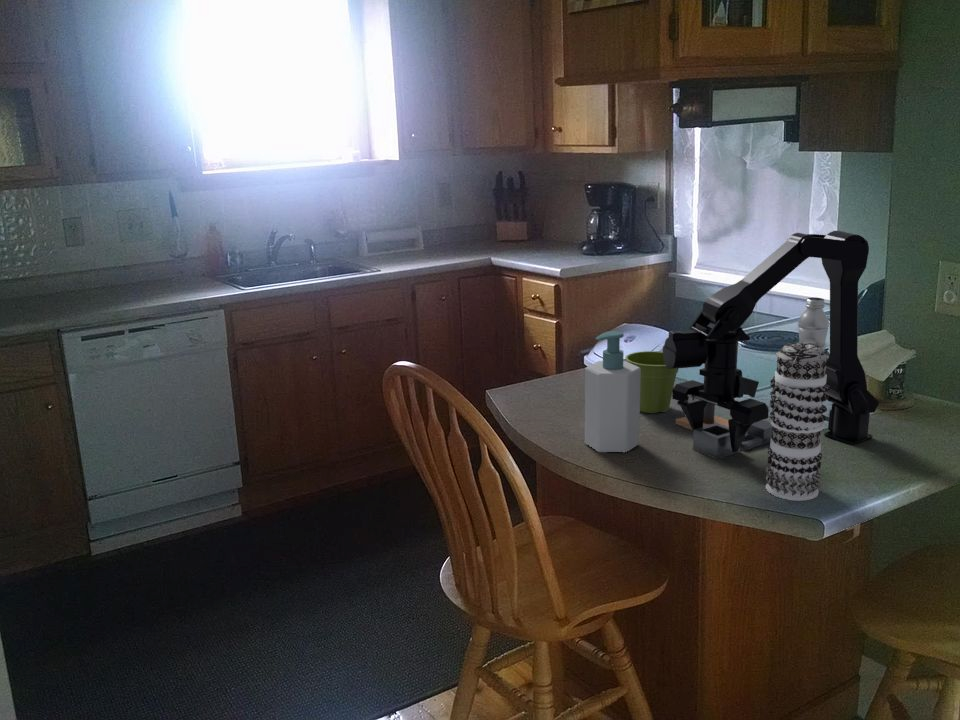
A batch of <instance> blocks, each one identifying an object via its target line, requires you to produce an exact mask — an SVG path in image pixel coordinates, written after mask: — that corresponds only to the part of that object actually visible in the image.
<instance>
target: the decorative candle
mask: <svg viewBox="0 0 960 720" xmlns="http://www.w3.org/2000/svg"><path fill="white" fill-rule="evenodd" d="M775 355H776V358H777V361H776V370H775V371H774V376H773V378H772V379H770V381H769V382H770V384H769V385H770V387H771V388H772V390H771V392H770V393H769V394H770V395H769V396H770V399H771V400H770V401H769V406H770V407H769V408H771V409H772V411H769V416H770V417H769V418H770V421H769V422H770V423H771V425H772V426H773V429H772V438H771V440H770V442H769V443H770V444H769V447H768V449H767V454H768V455H769V456H768V457H767V461H766V462H767V463H768V465H767V467H766V470H765V471H766V477H765V482H766V485H765V490H766V489H767V490H766V492H767V491H768V492H769V493H768V492H767V493H768V494H770V493H771V494H772V496H773V495H774V497H776V498H778V497H779V499H781V498H782V499H781V500H786V499H787V501H793V502H794V501H795V502H796V501H799V502H803V501H810V500H813V499H815V498H817V497H818V496H819V493H820V491H819V489H818V488H819V487H820V478H821V472H820V471H819V469H821V467H822V462H821V460H822V459H823V458H822V457H823V456H822V455H823V454H822V452H821V448H822V442H821V432H822V430H823V429H824V428H825V423H824V422H825V421H826V419H827V417H826V415H825V414H824V413H826V412H827V411H828V408H827V407H826V405H824V404H823V402H826V401H828V399H829V397H828V395H827V394H826V393H825V392H827V391H829V390H830V387H829V386H828V385H827V384H826V379H827V375H826V361H827V359H828V358H829V355H828V354H826V353H825V351H824V352H823V350H822V349H821V348H820V347H819V346H817V345H815V344H811V343H803V342H799V341H798V342H788V343H786V344H785V345H783V347H782V348H781V350H778V351H776V353H775ZM771 494H770V495H771Z"/></svg>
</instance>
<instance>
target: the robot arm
mask: <svg viewBox="0 0 960 720" xmlns="http://www.w3.org/2000/svg"><path fill="white" fill-rule="evenodd" d="M869 252H870V245H869V241H868V240H867V239H865V237H864V236H861V235H860V234H856V233H852V232H846V231H841V230H832V231H830V232H829V233H827V234H819V233H817V234H816V233H811V234H810V233H808V234H807V233H802V232H795V233H793V234H791V235H789V237H788V238H787V239H786V241H785V242H784V243H783V244H781V245H780V246H779V247H777V249H776V250H775V251H773V252H772V253H771V254H770V255H768V257H766V258H765V259H764V260H763V261H762V262H761V263H759V264H758V265H757V266H756V267H754V268H753V269H752V270H751V271H749V273H748V274H747V275H745V276H744V277H742V279H741V280H739V281H737V282H736V283H734V284H730V285H728V286H725V287H723V288H721V289H720V290H718V291H716V292H714V293H713V294H711V295H710V296H708V297H707V298H706V299H705V300H704V302H703V304H702V310H701V311H700V312H699V314H698V315H697V316H696V317H695V319H694V321H693V322H692V324H691V325H690V326H689V330H669V331H668V337H667V338H666V339H665V340H664V344H663V346H662V352H663V358H664V362H665V364H666V366H667V368H669V369H677V368H679V369H688V368H698V367H702V365H704V368H701V369H699V372H698V373H699V375H700V376H702V377H703V382H700V381H696V380H694V379H691V380H688V381H684V382H680V383H676V384H674V387H673V392H672V397H671V400H675V401H676V404H677V405H678V406H679V407H680V408H681V410H682V412H683V413H684V415H685V417H687V419H688V421H689V423H690V426H691V428H692V430H691V431H692V432H693V433H694V429H697V428H700V427H703V419H704V409H705V407H706V405H707V403H711V404H714V405H715V406H718V407H720V408H723V409H727V410H729V416H730V417H731V418H730V419H727V420H728V424H729V433H730V442H731V448H732V452H737V451H738V450H739V448H740V445H741V443H742V441H743V439H744V437H745V435H746V433H747V431H748V429H749V428H750V426H751V425H752V424H753V423H755V422H759V421H761V420H764V421H765V420H766V419H769V415H770V411H769V409H770V407H769V406H768V404H767V403H766V402H763V401H760V400H757V399H754V398H755V397H756V394H757V390H758V387H759V384H760V381H758V380H754V379H752V378H748V377H744V376H743V371H742V369H739V368H737V367H738V351H739V342H747V341H750V339H751V336H749V335H748V334H747V333H746V332H745V331H744V330H743V327H742V326H743V325H744V324H745V322H746V321H747V320H748V319H749V317H750V316H751V315H752V314H753V312H754V310H755V307H756V304H757V303H758V302H759V301H760V300H761V298H763V297H764V296H765V295H766V294H768V292H770V291H771V290H772V289H773V288H774V287H776V286H777V285H778V284H779V283H780V282H781V281H783V280H784V279H785V278H786V277H787V276H788V275H790V274H791V273H792V272H793V271H795V269H796V268H797V267H799V266H800V265H801V264H802V263H804V262H805V261H806V260H807V259H808V258H817V259H820V260H821V264H822V266H823V269H824V272H825V274H826V276H827V278H828V280H829V355H828V356H829V358H828V359H827V361H826V375H827V379H826V384H827V385H828V386H829V387H830V390H829V391H827V392H825V393H826V394H827V395H828V397H829V399H828V400H827V401H828V402H831V408H830V410H829V413H828V414H829V415H828V423H827V424H828V425H827V431H825V432H824V433H823V435H824V436H825V437H828V438H832V439H834V440H837V441H840V442H843V443H846V444H849V445H856V444H858V443H861V442H864V441H867V440H871V439H873V435H872V434H871V433H869V426H870V425H869V424H870V417H871V415H870V414H872V413H876V411H877V408H878V406H879V400H878V399H876V397H875V396H874V395H873V394H872V393H871V392H870V391H869V390H868V383H867V378H866V371H865V370H864V368H863V365H862V363H861V361H860V358H859V355H858V351H859V349H858V346H859V345H858V342H859V340H858V339H859V335H858V334H859V331H858V328H859V326H858V325H859V323H858V322H859V281H860V279H861V277H862V275H863V274H864V272H865V270H866V269H867V265H868V258H869ZM710 325H711V326H713V327H710ZM744 395H746V396H749V397H750V398H747V399H744V400H740V401H738V400H736V398H737V399H741V398H744Z"/></svg>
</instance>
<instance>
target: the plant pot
mask: <svg viewBox="0 0 960 720" xmlns="http://www.w3.org/2000/svg"><path fill="white" fill-rule="evenodd" d="M625 361H626V362H628V363H631V364H633V365H635V366H637V367H640V369H641V382H640V413H641V412H642V413H646V414H647V413H648V414H657V413H659V412H662V413H665V412H667V411H668V410H669V409H670V405H671V400H672V393H673V388H674V387H675V382H676V378H677V374H678V373H679V369H680V368H677V369H669V368H667V366H666V364H665V362H664V358H663V351H657V350H656V351H655V350H652V351H651V350H645V351H637V352H632V353H629V354H627V355H626V356H625Z"/></svg>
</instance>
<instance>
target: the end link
mask: <svg viewBox="0 0 960 720" xmlns="http://www.w3.org/2000/svg"><path fill="white" fill-rule="evenodd" d="M692 437H693V438H692V439H693V441H692V450H693V449H695V450H694V451H696V450H698V451H700V452H699V453H701V452H703V453H705V454H704V455H706V454H707V455H706V456H708V455H710V456H709V457H711V456H713V457H715V458H714V459H716V458H719V459H722V458H725V457H728V456H731V455H734V453H735V454H737V453H740V451H741V450H740V448H739V450H738V451H737V452H732V448H731V442H730V433H729V427H726V426H724V425H721V424H718V423H714V424H711V425H707V426H704V427H700V428H697V429H694V432H693V436H692ZM698 451H697V452H698ZM703 453H702V454H703ZM730 454H731V455H730ZM727 455H728V456H727ZM724 456H725V457H724ZM713 457H712V458H713ZM721 457H722V458H721Z"/></svg>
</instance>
